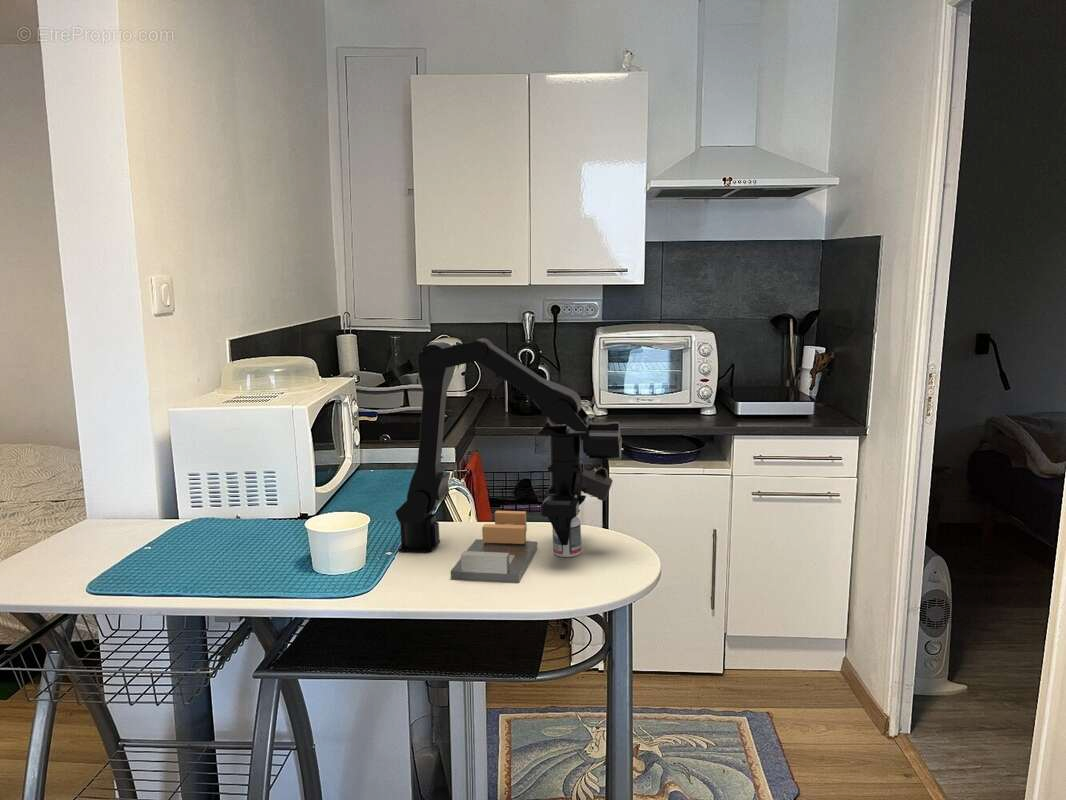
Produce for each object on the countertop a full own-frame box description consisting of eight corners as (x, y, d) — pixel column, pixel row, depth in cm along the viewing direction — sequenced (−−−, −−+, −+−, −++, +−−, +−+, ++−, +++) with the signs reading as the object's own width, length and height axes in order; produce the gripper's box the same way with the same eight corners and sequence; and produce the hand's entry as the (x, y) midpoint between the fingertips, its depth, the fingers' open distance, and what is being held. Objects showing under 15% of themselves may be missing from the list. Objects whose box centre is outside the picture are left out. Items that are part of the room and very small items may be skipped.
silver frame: (450, 579, 137) (449, 554, 136) (476, 546, 153) (475, 524, 153) (518, 582, 135) (518, 557, 134) (537, 549, 151) (536, 526, 150)
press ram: (482, 542, 150) (481, 522, 150) (492, 529, 158) (491, 510, 157) (524, 543, 149) (523, 523, 148) (531, 531, 156) (531, 511, 155)
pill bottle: (581, 548, 151) (581, 503, 149) (580, 558, 146) (579, 511, 144) (554, 548, 151) (553, 503, 150) (552, 557, 146) (550, 511, 145)
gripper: (603, 471, 135) (605, 559, 138) (613, 448, 153) (614, 526, 156) (539, 470, 137) (541, 556, 140) (556, 447, 155) (558, 524, 158)
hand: (567, 540), depth 148 cm, fingers closed on pill bottle, 5 cm apart
